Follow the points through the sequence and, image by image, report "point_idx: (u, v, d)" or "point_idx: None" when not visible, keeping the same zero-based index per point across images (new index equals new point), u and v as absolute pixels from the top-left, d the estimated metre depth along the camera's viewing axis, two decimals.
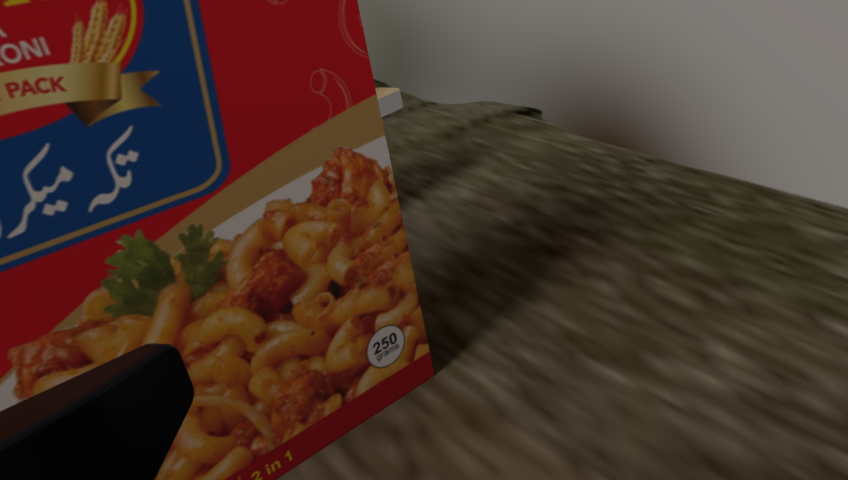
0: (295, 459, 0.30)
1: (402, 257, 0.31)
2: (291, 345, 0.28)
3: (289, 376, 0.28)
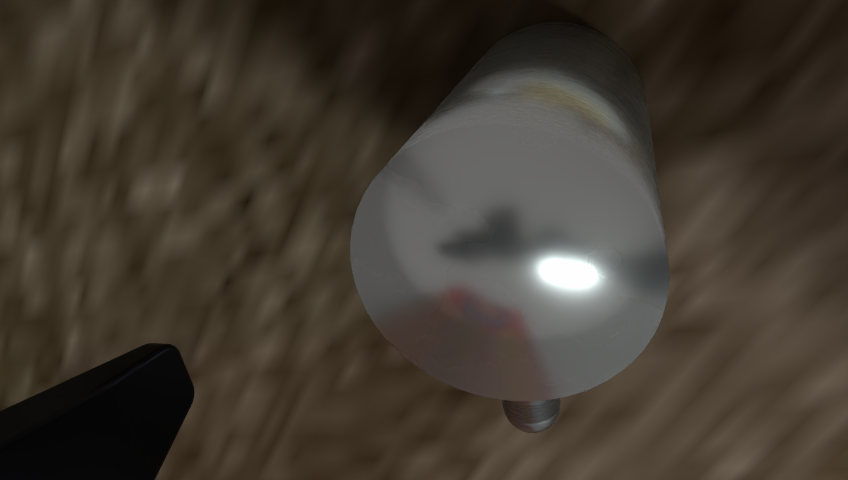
0: None
1: None
2: None
3: None
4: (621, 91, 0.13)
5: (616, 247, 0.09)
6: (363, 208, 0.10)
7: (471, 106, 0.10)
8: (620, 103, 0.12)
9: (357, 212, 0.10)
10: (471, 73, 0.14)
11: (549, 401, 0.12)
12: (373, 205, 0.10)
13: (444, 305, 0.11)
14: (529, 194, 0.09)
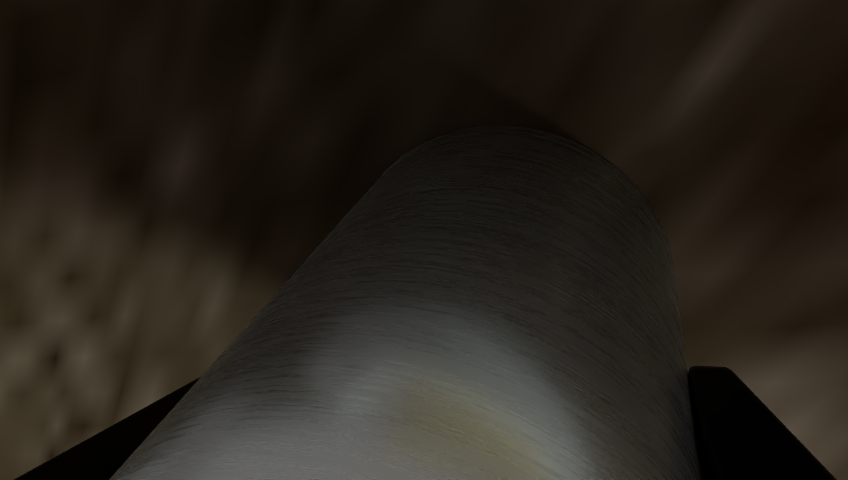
0: None
1: None
2: None
3: None
4: (629, 379, 0.05)
5: None
6: None
7: None
8: (626, 467, 0.04)
9: None
10: (288, 290, 0.06)
11: None
12: None
13: None
14: None
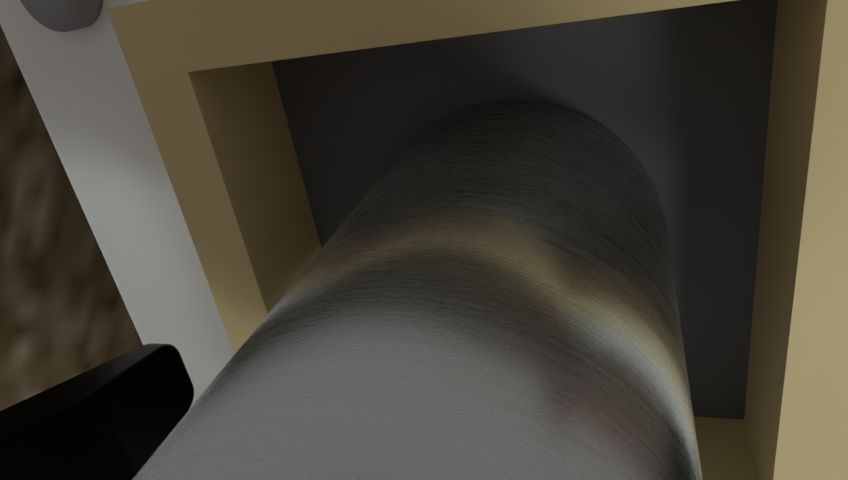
0: None
1: None
2: None
3: None
4: (628, 297, 0.06)
5: None
6: None
7: None
8: (627, 355, 0.05)
9: None
10: (343, 234, 0.07)
11: None
12: None
13: None
14: None
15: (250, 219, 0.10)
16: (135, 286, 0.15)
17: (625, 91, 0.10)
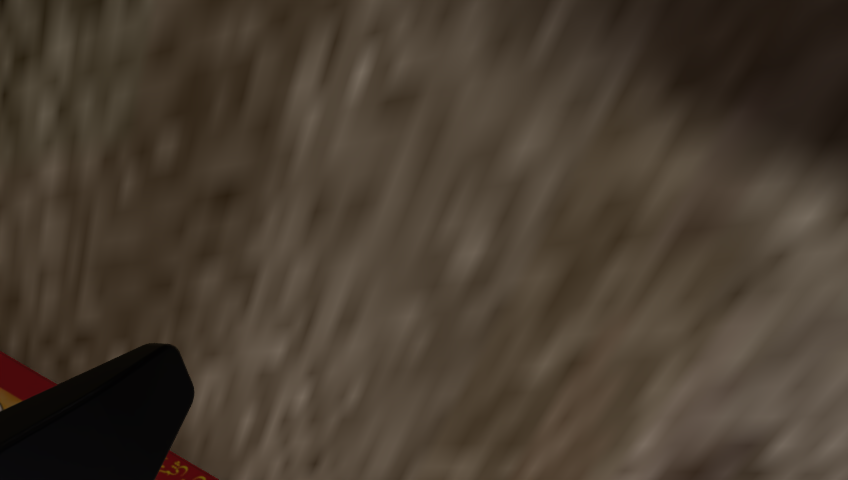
0: None
1: None
2: None
3: None
4: None
5: None
6: None
7: None
8: None
9: None
10: None
11: None
12: None
13: None
14: None
15: None
16: None
17: None
